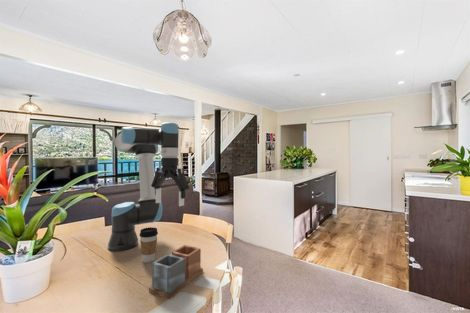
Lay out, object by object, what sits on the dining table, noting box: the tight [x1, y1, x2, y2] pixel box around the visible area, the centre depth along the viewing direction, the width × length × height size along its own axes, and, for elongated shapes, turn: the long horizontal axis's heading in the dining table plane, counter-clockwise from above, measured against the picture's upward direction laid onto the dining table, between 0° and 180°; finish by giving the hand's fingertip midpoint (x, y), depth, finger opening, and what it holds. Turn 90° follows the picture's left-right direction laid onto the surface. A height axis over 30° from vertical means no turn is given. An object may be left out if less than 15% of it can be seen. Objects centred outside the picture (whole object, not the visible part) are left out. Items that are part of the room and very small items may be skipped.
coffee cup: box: [139, 226, 159, 263], centre depth 110 cm, size 8×8×15 cm
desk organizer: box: [148, 244, 204, 300], centre depth 92 cm, size 10×21×10 cm, turn 154°
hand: (169, 204), depth 103 cm, fingers open, 13 cm apart
